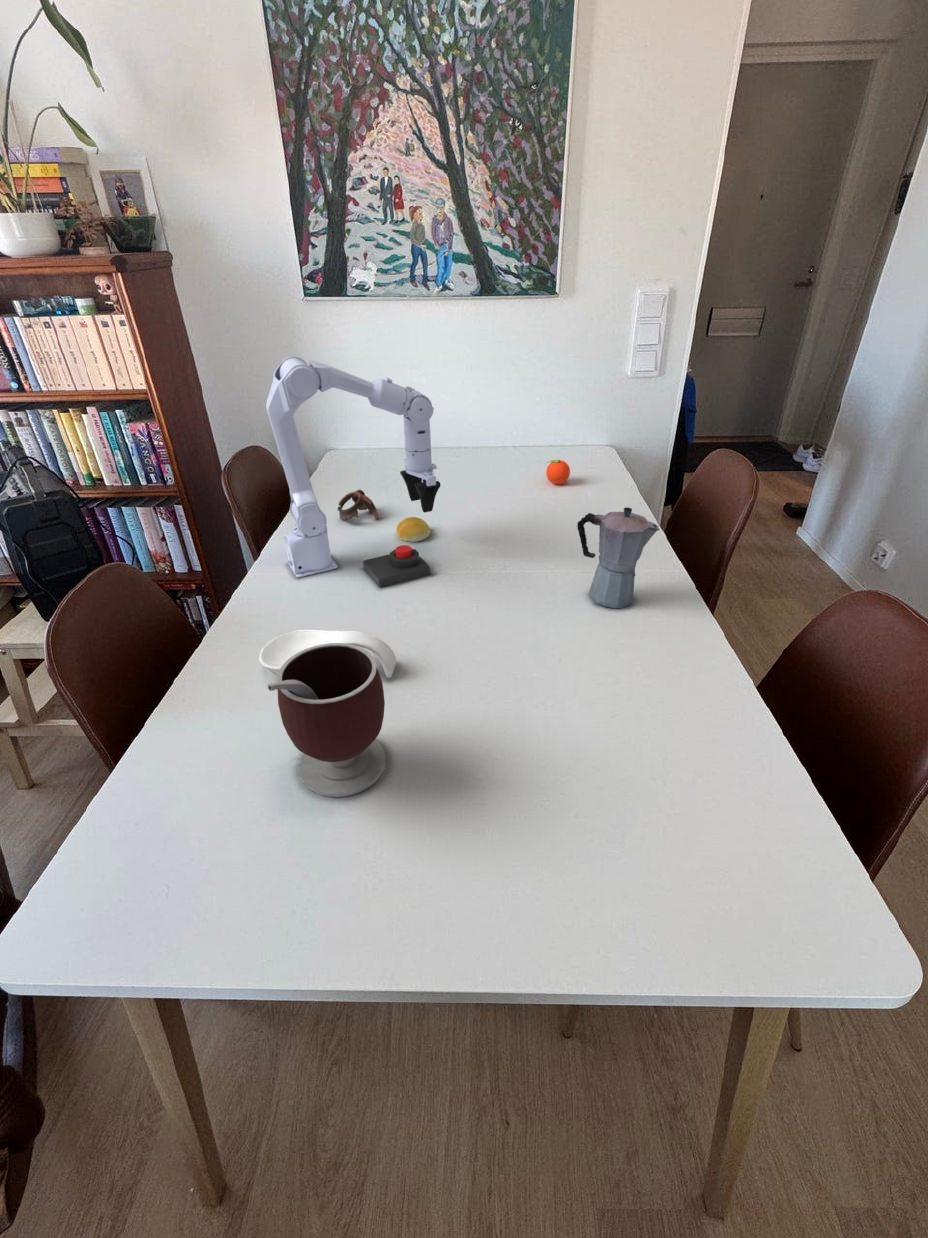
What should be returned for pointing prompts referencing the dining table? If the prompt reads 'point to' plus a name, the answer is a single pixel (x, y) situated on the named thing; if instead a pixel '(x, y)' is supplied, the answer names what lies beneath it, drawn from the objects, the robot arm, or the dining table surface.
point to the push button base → (396, 568)
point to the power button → (403, 551)
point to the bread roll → (413, 529)
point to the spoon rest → (299, 640)
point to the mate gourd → (333, 716)
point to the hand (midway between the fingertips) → (421, 505)
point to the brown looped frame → (356, 505)
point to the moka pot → (616, 554)
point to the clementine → (557, 471)
